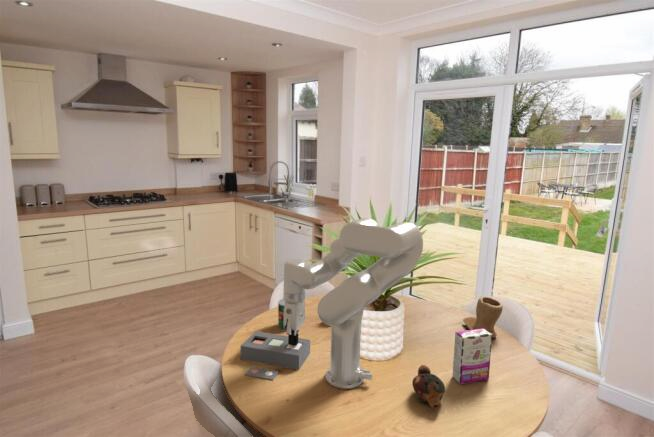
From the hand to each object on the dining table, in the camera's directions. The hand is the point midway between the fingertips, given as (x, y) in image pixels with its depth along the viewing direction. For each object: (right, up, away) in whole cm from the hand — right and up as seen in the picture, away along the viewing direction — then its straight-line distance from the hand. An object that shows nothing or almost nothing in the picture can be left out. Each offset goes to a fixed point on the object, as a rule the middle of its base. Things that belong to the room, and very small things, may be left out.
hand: (293, 344), depth 145 cm
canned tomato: (-5, -1, +27) cm, 27 cm away
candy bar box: (+60, -9, -9) cm, 61 cm away
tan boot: (+77, -3, +26) cm, 82 cm away
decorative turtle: (+43, -11, -20) cm, 49 cm away
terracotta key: (-13, -3, +4) cm, 14 cm away
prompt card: (-10, -7, -9) cm, 15 cm away
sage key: (-6, -2, +2) cm, 7 cm away
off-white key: (0, -3, 0) cm, 3 cm away
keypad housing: (-6, -5, +3) cm, 9 cm away
